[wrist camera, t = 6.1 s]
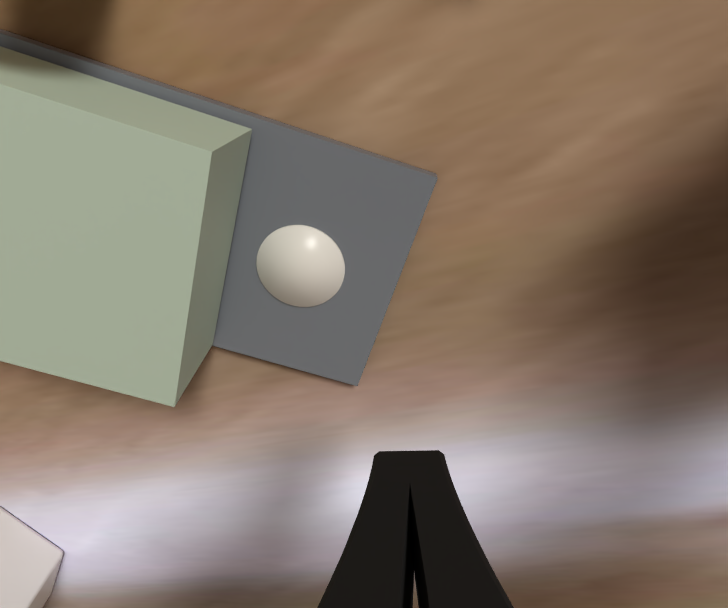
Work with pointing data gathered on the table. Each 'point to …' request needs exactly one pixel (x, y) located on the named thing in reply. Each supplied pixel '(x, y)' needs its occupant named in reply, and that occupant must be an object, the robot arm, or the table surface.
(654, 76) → the table surface
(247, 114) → the base
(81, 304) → the pale green rectangular block
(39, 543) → the jar
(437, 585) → the robot arm
